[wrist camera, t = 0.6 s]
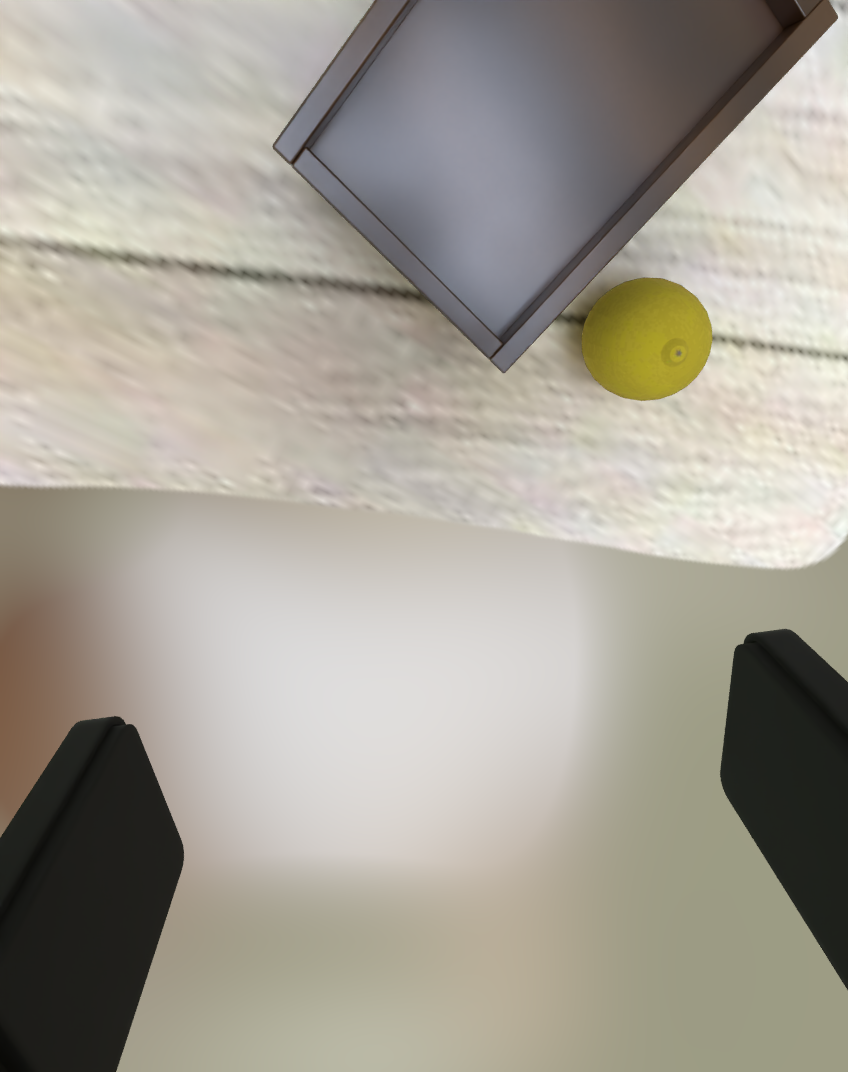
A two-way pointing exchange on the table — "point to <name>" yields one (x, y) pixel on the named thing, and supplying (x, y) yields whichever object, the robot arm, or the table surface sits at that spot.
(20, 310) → the table surface
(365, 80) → the shelf
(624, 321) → the lemon
